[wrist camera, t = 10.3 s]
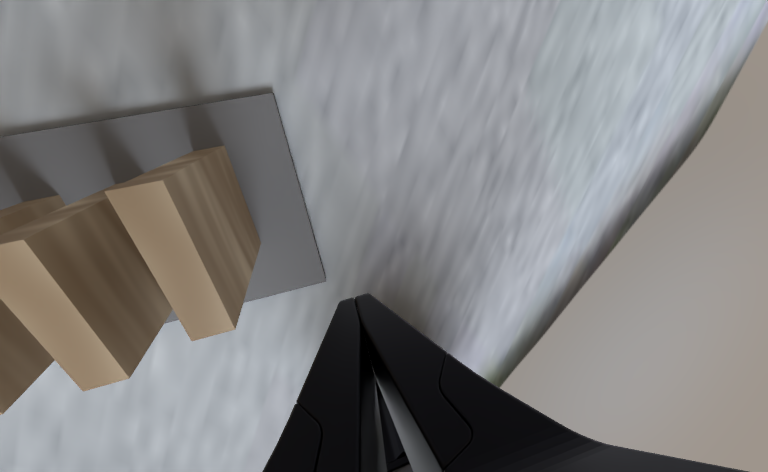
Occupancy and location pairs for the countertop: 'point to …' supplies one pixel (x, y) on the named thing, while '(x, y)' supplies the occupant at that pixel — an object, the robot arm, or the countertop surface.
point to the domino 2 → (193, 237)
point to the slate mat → (164, 144)
